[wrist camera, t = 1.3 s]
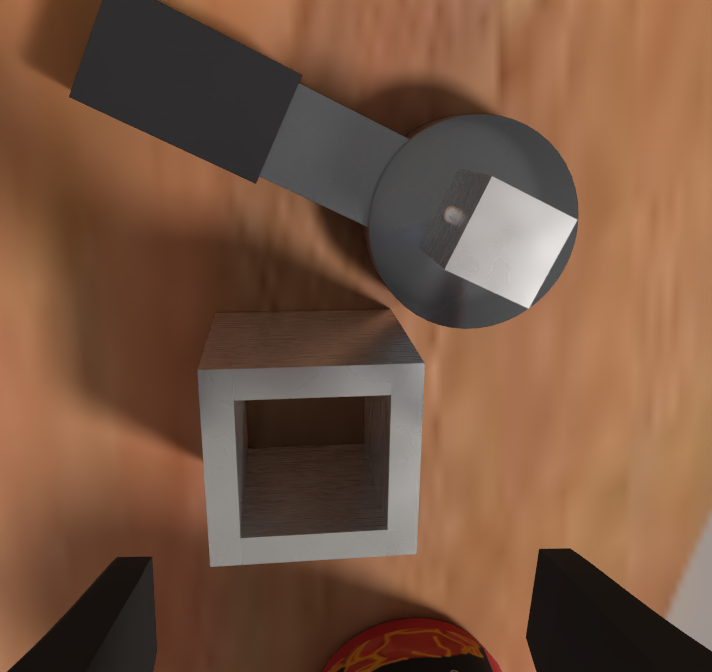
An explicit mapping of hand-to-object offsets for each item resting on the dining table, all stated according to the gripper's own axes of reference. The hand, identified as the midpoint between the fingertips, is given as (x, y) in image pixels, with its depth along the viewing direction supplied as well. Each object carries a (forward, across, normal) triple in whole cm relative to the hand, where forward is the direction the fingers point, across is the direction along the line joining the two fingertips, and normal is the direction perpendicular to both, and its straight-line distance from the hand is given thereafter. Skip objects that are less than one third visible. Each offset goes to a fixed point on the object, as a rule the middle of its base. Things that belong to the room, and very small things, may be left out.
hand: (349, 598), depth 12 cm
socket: (+10, 0, 0) cm, 10 cm away
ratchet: (+10, 0, -7) cm, 12 cm away
